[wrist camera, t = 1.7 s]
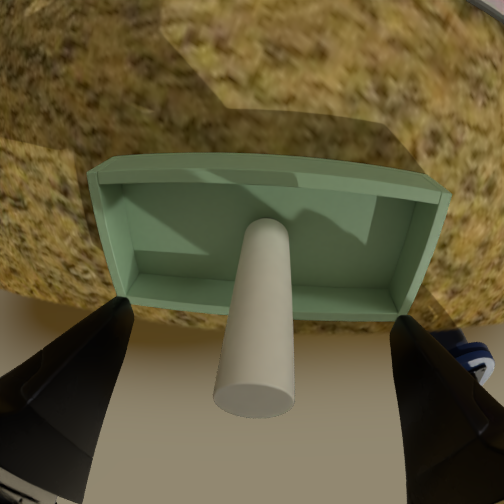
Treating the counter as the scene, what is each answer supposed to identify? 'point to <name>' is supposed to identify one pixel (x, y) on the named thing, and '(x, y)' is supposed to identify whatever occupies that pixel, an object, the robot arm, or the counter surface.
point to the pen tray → (272, 206)
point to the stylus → (259, 328)
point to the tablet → (491, 7)
